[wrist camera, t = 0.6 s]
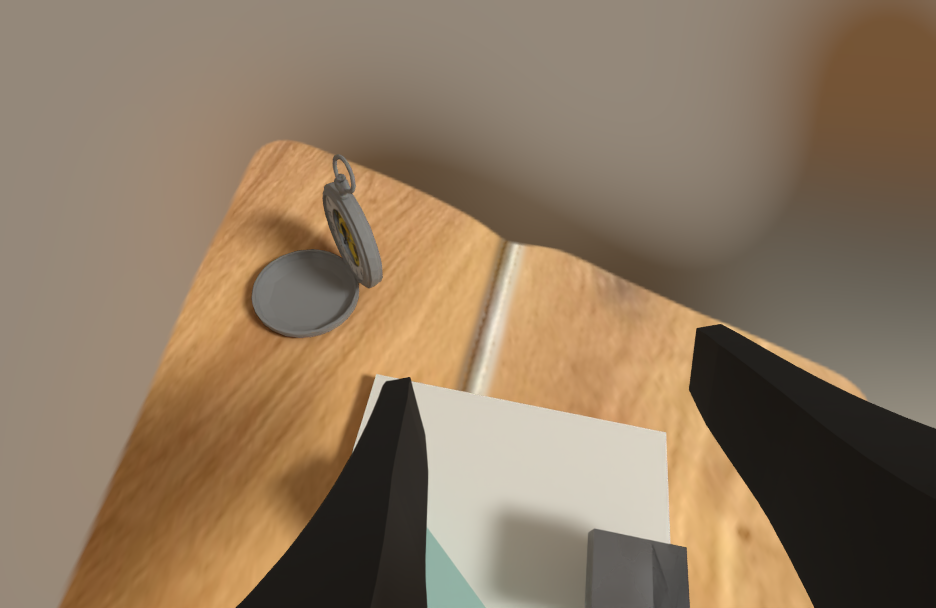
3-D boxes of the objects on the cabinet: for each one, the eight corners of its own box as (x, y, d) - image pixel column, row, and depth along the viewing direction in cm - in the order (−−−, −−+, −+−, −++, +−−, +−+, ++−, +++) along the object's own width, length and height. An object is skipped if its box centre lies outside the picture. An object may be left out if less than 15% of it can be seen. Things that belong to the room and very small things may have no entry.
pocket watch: (233, 316, 33) (171, 202, 24) (310, 228, 37) (280, 107, 29) (345, 369, 31) (320, 268, 23) (411, 271, 36) (410, 157, 28)
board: (674, 950, 19) (686, 964, 18) (234, 848, 20) (226, 857, 19) (659, 438, 30) (666, 432, 30) (377, 381, 31) (376, 374, 30)
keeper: (643, 657, 24) (692, 658, 20) (559, 638, 25) (590, 636, 20) (642, 564, 27) (686, 547, 22) (565, 548, 27) (594, 528, 22)
